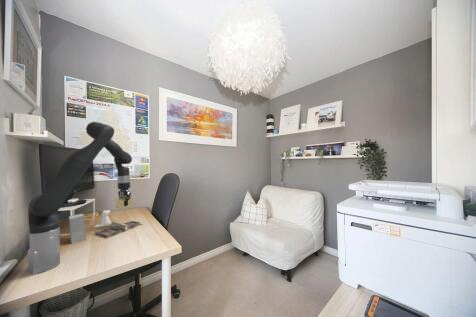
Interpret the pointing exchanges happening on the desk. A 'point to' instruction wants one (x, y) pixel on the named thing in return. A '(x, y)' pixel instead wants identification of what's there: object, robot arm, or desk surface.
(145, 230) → the desk surface
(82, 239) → the skincare box
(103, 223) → the white creature statuette
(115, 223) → the lock board
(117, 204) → the stop bar
